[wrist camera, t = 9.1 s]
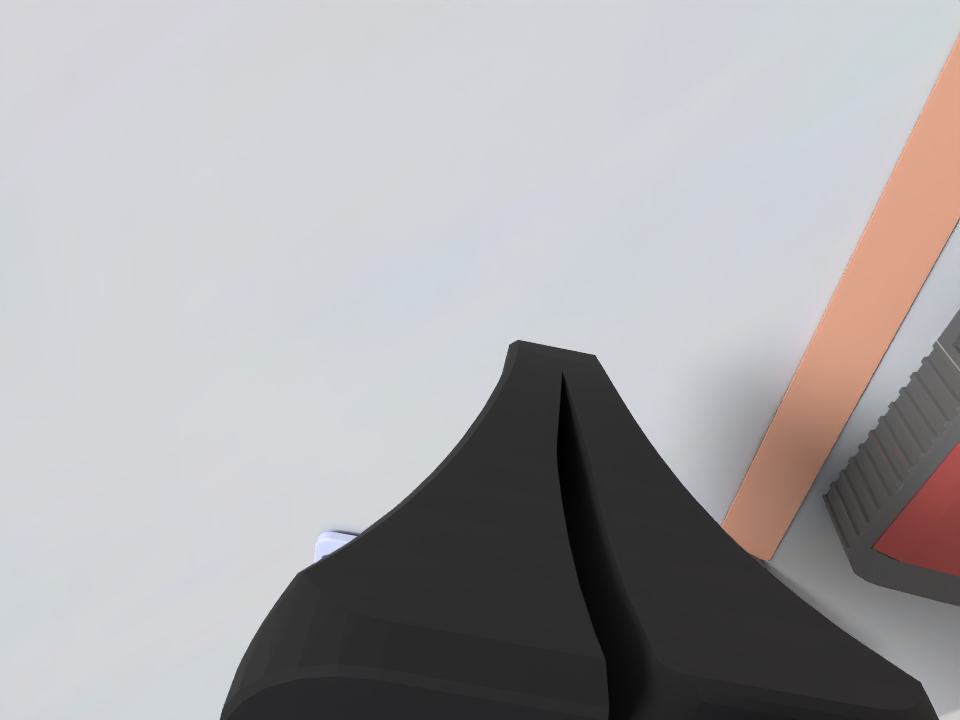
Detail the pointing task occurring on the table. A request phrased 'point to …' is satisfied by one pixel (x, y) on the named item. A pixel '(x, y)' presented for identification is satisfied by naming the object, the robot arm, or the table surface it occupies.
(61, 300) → the table surface
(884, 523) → the walkie-talkie
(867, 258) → the finish line
